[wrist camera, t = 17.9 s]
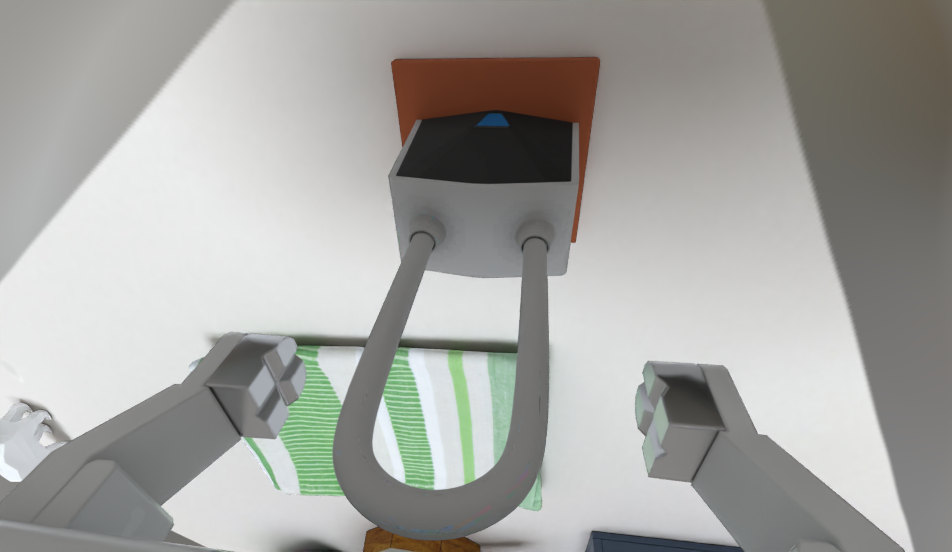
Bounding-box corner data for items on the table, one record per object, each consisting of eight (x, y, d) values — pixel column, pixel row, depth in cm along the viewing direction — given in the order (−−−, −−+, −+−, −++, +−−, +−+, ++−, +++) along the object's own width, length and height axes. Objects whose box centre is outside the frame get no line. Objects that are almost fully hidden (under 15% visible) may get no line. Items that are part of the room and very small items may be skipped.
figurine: (44, 404, 37) (-11, 453, 33) (82, 451, 42) (39, 498, 38) (17, 399, 37) (-41, 447, 33) (58, 447, 42) (13, 493, 38)
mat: (598, 56, 16) (600, 59, 15) (574, 236, 21) (575, 243, 20) (394, 58, 17) (390, 61, 16) (416, 231, 22) (414, 237, 21)
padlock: (424, 200, 20) (254, 564, 8) (415, 108, 17) (143, 437, 5) (568, 206, 19) (620, 613, 7) (580, 111, 17) (693, 493, 5)
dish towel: (541, 490, 36) (541, 524, 34) (288, 469, 39) (273, 498, 37) (549, 344, 25) (550, 380, 23) (200, 331, 28) (172, 362, 26)
